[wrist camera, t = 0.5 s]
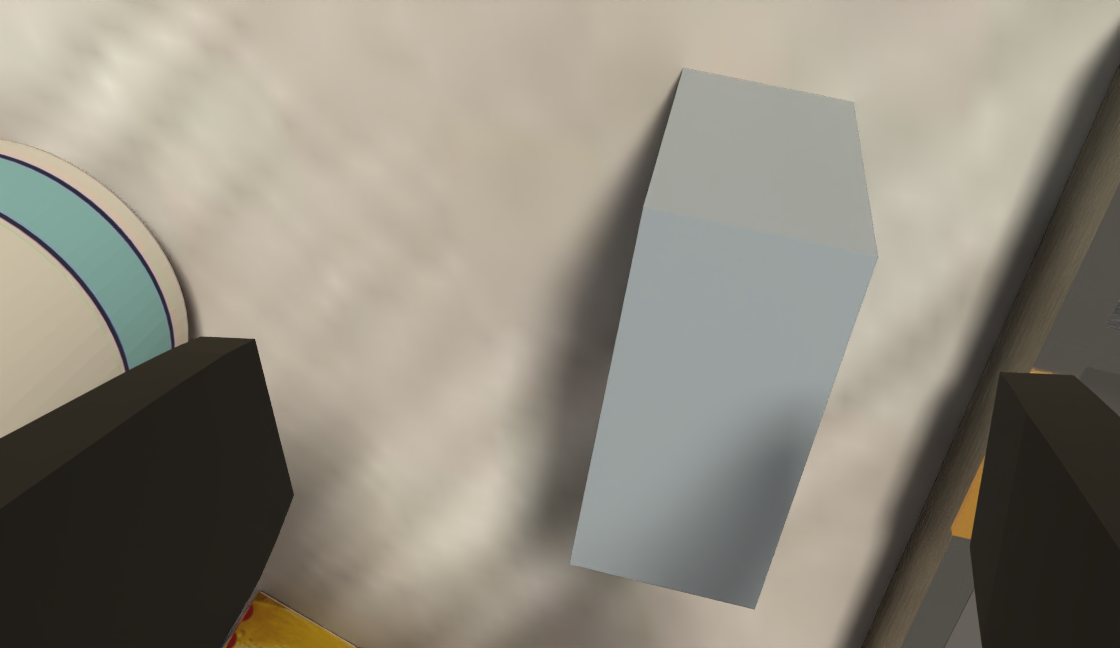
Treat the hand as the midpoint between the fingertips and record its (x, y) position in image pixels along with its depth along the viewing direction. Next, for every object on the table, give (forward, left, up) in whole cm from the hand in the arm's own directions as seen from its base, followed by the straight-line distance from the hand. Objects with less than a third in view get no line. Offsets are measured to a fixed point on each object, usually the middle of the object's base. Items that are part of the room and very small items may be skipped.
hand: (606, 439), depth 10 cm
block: (-1, +3, -10) cm, 10 cm away
